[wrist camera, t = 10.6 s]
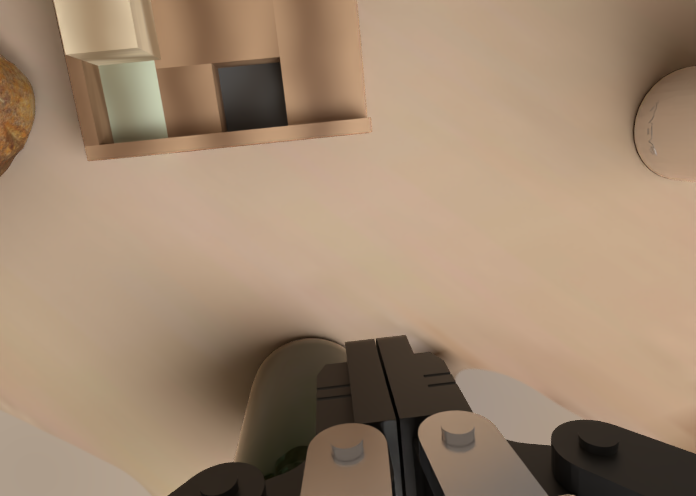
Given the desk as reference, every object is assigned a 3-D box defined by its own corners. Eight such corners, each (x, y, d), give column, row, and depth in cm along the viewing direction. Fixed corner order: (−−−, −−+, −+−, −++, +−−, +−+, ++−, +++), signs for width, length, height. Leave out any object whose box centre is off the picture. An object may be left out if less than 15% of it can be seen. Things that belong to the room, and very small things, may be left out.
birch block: (149, -9, 33) (123, -32, 29) (161, 59, 34) (137, 47, 30) (84, -3, 33) (48, -25, 29) (98, 65, 34) (65, 54, 30)
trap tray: (343, -120, 35) (346, -163, 30) (365, 133, 39) (372, 131, 34) (65, -96, 34) (22, -136, 29) (117, 158, 38) (87, 161, 33)
